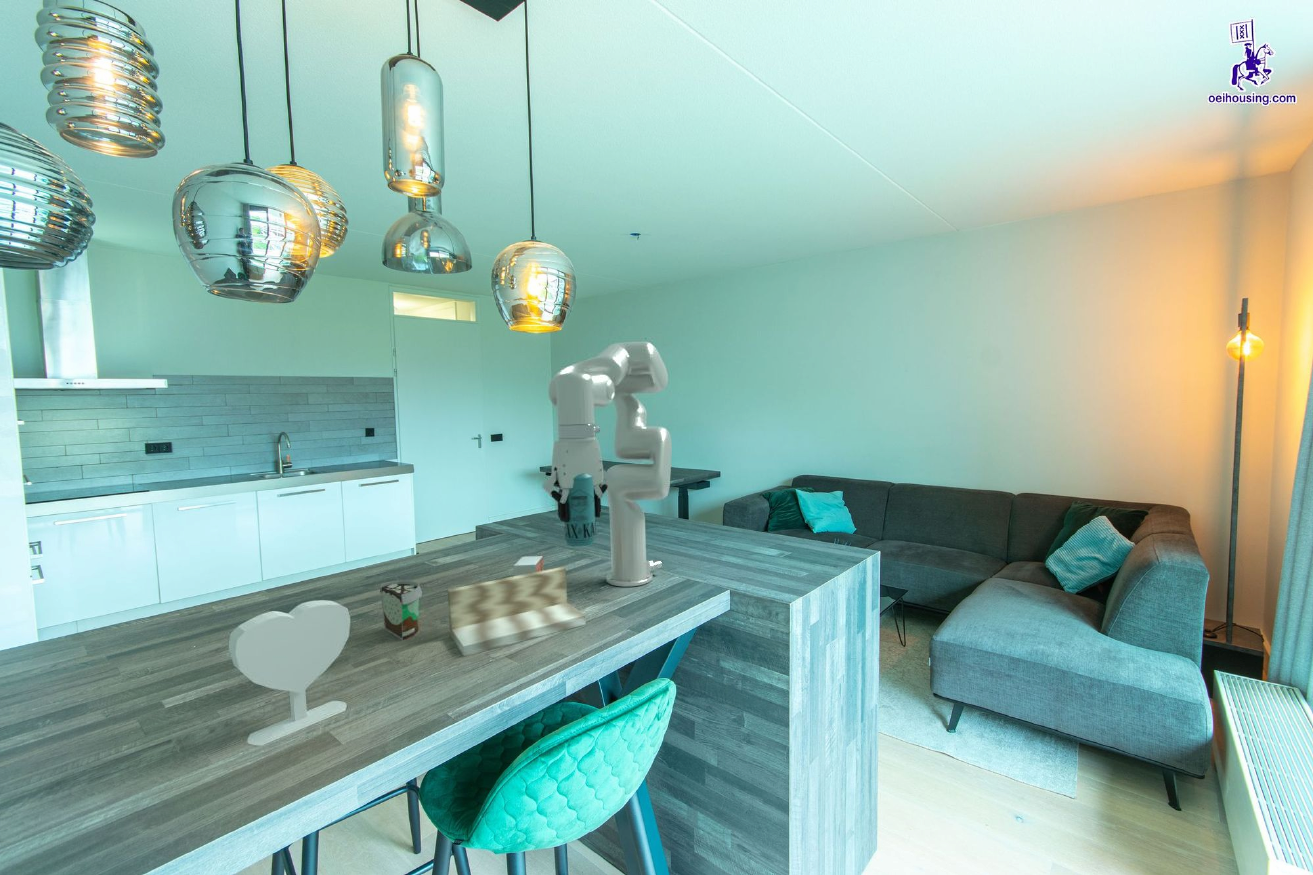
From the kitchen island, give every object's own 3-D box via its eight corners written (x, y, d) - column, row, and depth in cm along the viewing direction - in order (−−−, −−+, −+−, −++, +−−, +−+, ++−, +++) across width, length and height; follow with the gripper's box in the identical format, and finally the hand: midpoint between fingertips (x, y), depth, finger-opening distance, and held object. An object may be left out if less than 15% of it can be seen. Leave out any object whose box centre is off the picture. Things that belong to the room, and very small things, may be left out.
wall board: (564, 608, 133) (562, 566, 132) (585, 624, 123) (583, 579, 122) (450, 635, 119) (447, 589, 118) (463, 656, 109) (461, 606, 108)
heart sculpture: (345, 695, 95) (338, 592, 94) (358, 705, 92) (351, 598, 91) (234, 739, 83) (224, 621, 82) (244, 752, 80) (234, 629, 79)
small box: (538, 608, 134) (536, 564, 133) (514, 608, 134) (512, 565, 133) (545, 596, 142) (543, 555, 141) (523, 596, 142) (521, 556, 141)
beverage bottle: (561, 548, 119) (557, 454, 117) (591, 543, 122) (587, 452, 120) (570, 555, 113) (566, 457, 112) (601, 550, 116) (597, 454, 114)
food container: (434, 632, 121) (431, 587, 120) (405, 642, 116) (402, 595, 116) (409, 618, 129) (407, 576, 129) (382, 627, 125) (379, 583, 124)
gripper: (604, 430, 124) (607, 510, 125) (529, 435, 114) (534, 522, 115) (621, 431, 117) (625, 515, 119) (544, 436, 108) (548, 528, 109)
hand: (580, 518), depth 117 cm, fingers closed on beverage bottle, 6 cm apart
